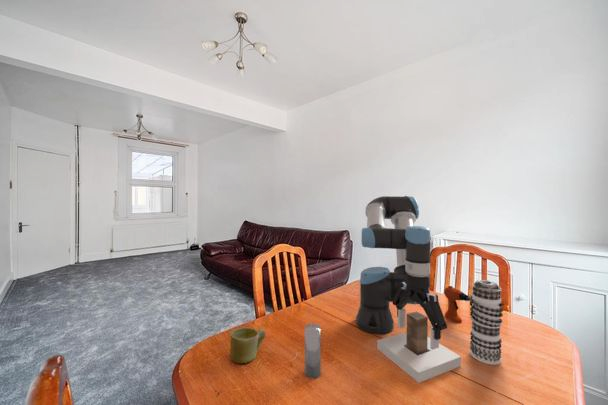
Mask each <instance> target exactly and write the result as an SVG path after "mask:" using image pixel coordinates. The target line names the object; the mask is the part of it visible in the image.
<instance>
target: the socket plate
mask: <svg viewBox="0 0 608 405" xmlns="http://www.w3.org/2000/svg"><path fill="white" fill-rule="evenodd" d="M430 342H431V337H429V336H427V352H426V353H423V354H420V355H416V354H415V353H413V352H412V351H410V350H409V349H408V348H407V331H406V332H400V333H398V334H395V335H391V336H388V337H384V338H380V339H377V341H376V343H377V346H376V348H377V350H378V351H379V352H381V353H382V354H383V355H384V356H386V357H387V359H389V360H390V361H392V362H393V363H394V364H395V365H396V366H397V367H399V368H400V369H401V370H402V371H403V372H405V373H406V374H407V375H408V376H410V377H411V378H412V379H413V380H414V381H416V383H422V382H424V381H427V380H430V379H432V378H435V377H437V376H440V375H442V374H444V373H447V372H449V371H452V370H454V369H457V368H459V367H461V366H462V357H461V356H460V355H459V354H457V353H456V352H454V351H452V350H451V349H449V348H447V347H446V346H444V345H442V344H441V343H439V348H436V349H434V350H432V349H430Z"/></svg>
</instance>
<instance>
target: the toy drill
mask: <svg viewBox="0 0 608 405" xmlns="http://www.w3.org/2000/svg"><path fill="white" fill-rule="evenodd" d="M443 290H444V291H443V292H444V296H445V297H446V298H447V303H448V304H447V310H446V311H445V313H444V318H445V319H448V320H449V321H450V322H452V323H455V324H457V323H458V324H460V323H462V321H463V320H462V318H461V317H460V316H459V315H458V309H459V306H458V303H457V301H464V302H470V296H469V295H468V294H466V293H464V292H463V291H462V290H460V289H457V288H455V287H453V286H452V285H449V286H447V287H445V289H443ZM472 300H473V298H472Z"/></svg>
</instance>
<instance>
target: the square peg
mask: <svg viewBox="0 0 608 405" xmlns="http://www.w3.org/2000/svg"><path fill="white" fill-rule="evenodd" d="M428 322H429V319H428V317H427V315H426V314H425V315H424V314H422V313H421V312H418V311H413V312H409V313H406V332H407V348H408V349H409V350H410V351H412V352H413V353H415V354H416V355H420V354H423V353H426V352H427V337H429V336H428V329H429V328H428V327H429V326H428V325H429V324H428Z"/></svg>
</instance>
